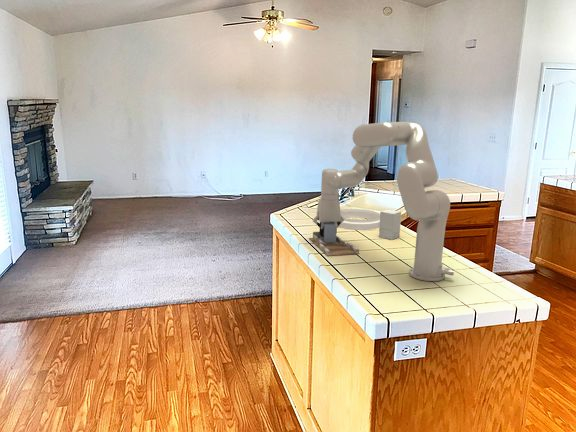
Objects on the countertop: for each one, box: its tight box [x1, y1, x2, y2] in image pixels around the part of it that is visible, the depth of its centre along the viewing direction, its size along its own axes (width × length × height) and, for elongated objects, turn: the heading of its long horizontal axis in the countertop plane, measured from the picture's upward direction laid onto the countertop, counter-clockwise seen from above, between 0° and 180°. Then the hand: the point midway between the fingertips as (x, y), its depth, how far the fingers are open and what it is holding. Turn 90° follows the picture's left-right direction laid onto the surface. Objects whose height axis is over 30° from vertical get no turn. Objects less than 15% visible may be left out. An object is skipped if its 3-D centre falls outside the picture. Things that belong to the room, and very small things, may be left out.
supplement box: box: [378, 208, 402, 241], centre depth 215 cm, size 7×7×13 cm
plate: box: [338, 208, 380, 231], centre depth 241 cm, size 27×27×6 cm
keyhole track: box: [308, 230, 360, 257], centre depth 200 cm, size 26×14×3 cm, turn 14°
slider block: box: [320, 222, 338, 243], centre depth 206 cm, size 8×5×8 cm, turn 14°
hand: (327, 235), depth 206 cm, fingers closed on slider block, 5 cm apart
